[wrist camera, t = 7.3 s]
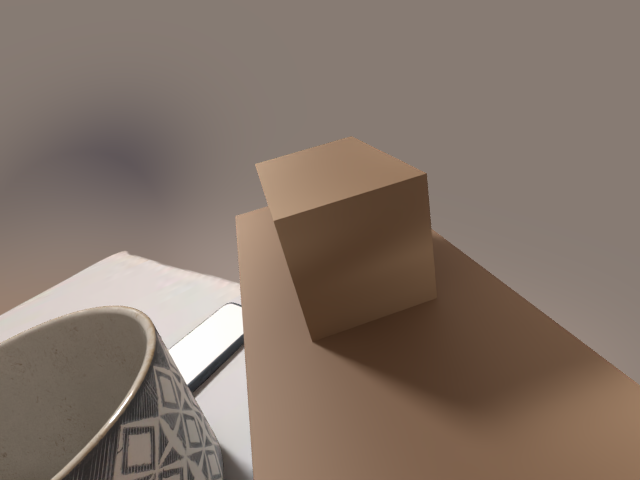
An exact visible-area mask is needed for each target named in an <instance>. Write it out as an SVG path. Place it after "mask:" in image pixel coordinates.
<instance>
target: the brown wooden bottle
mask: <svg viewBox="0 0 640 480" xmlns="http://www.w3.org/2000/svg"><path fill="white" fill-rule="evenodd" d="M255 165H256V169H257V172H258V175H259V178H260V181H261V184H262V188H263V191H264V194H265V197H266V200H267V203H268V206H267V207H264V208H260V209H257V210H254V211H251V212H248V213H244V214H241V215H237V216H235V218H236V232H237V247H238V260H239V276H240V290H241V305H242V319H243V334H244V348H245V362H246V377H247V391H248V406H249V420H250V435H251V449H252V464H253V478H254V480H640V385H639V384H637V383H636V382H635V381H633V380H632V379H631V378H629V377H628V376H627V375H625V374H624V373H623V372H621V371H620V370H619V369H617V368H616V367H615V366H613V365H612V364H611V363H609V362H608V361H607V360H605V359H604V358H603V357H601V356H600V355H599V354H597V353H596V352H595V351H593V350H592V349H591V348H589V347H588V346H587V345H585V344H584V343H583V342H581V341H580V340H579V339H578V338H576V337H575V336H574V335H572V334H571V333H570V332H568V331H567V330H565V329H564V328H563V327H561V326H560V325H559V324H558V323H556V322H555V321H554V320H552V319H551V318H549V317H548V316H547V315H546V314H544V313H543V312H542V311H540V310H539V309H538V308H536V307H535V306H534V305H532V304H531V303H530V302H528V301H527V300H526V299H524V298H523V297H522V296H520V295H519V294H518V293H516V292H515V291H514V290H512V289H511V288H510V287H508V286H507V285H506V284H504V283H503V282H501V281H500V280H499V279H498V278H496V277H495V276H494V275H492V274H491V273H490V272H488V271H487V270H486V269H484V268H483V267H482V266H480V265H479V264H478V263H476V262H475V261H474V260H472V259H471V258H470V257H468V256H467V255H466V254H464V253H463V252H462V251H460V250H459V249H458V248H456V247H455V246H453V245H452V244H451V243H450V242H448V241H447V240H446V239H444V238H443V237H442V236H440V235H439V234H438V233H436V232H435V231H434V230H432V229H431V219H430V207H429V196H428V183H427V174H426V173H425V172H423V171H421V170H418V169H417V168H415V167H413V166H410V165H408V164H407V163H405V162H403V161H400V160H398V159H396V158H394V157H392V156H390V155H388V154H386V153H384V152H382V151H380V150H378V149H376V148H374V147H372V146H370V145H368V144H366V143H364V142H362V141H360V140H358V139H356V138H354V137H352V136H351V137H347V138H344V139H340V140H337V141H333V142H330V143H327V144H323V145H319V146H316V147H313V148H309V149H306V150H303V151H299V152H295V153H292V154H288V155H285V156H281V157H278V158H275V159H271V160H268V161H264V162H261V163H257V164H255Z"/></svg>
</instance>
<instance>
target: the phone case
mask: <svg viewBox="0 0 640 480" xmlns="http://www.w3.org/2000/svg"><path fill="white" fill-rule="evenodd" d="M242 344H244V334H243V319H242V305H239V304H236V303H227V304H225V305H224V306H223V307H221V308H220V309H219V310H218V311H216V312H215V313H214V314H212V315H211V316H210V317H209V318H207V319H206V320H205V321H204V322H202V323H201V324H200V325H199V326H197V327H196V328H195V329H194V330H192V331H191V332H190V333H189V334H187V335H186V336H185V337H184V338H182V339H181V340H180V341H179V342H177V343H176V344H175V345H174V346H172V347H171V348H170V349H169V350H168V351H169V353H170V355H171V357H172V359H173V360H174V362H175V364H176V366H177V368H178V369H179V371H180V373H181V375H182V377H183V378H184V380H185V382H186V384H187V386H188V387H189V389H190V391H191V393H193V392H194V391H195V390H196V389H197V388H198V387H199V386H200V385H201V384H202V383H203V382H204V381H205V380H206V379H207V378H208V377H209V376H210V375H211V374H212V373H213V372H215V371H216V370H217V369H218V368H219V367H220V366H221V365H222V364H223V363H224V362H225V361H226V360H227V359H228V358H229V357H230V356H231V355H232V354H233V353H234V352H235V351H236V350H237V349H238V348H239V347H240V346H241V345H242Z"/></svg>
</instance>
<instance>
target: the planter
mask: <svg viewBox="0 0 640 480" xmlns="http://www.w3.org/2000/svg"><path fill="white" fill-rule="evenodd" d="M0 480H223V459H222V453H221V449H220V446H219V443H218V440H217V438H216V436H215V434H214V432H213V431H212V429H211V427H210V425H209V423H208V422H207V420H206V418H205V416H204V414H203V413H202V411H201V409H200V407H199V405H198V404H197V402H196V400H195V398H194V396H193V395H192V393H191V391H190V389H189V387H188V386H187V384H186V382H185V380H184V378H183V377H182V375H181V373H180V371H179V369H178V368H177V366H176V364H175V362H174V360H173V359H172V357H171V355H170V353H169V351H168V350H167V348H166V346H165V344H164V342H163V341H162V339H161V337H160V335H159V333H158V332H157V330H156V328H155V326H154V324H153V323H152V321H151V320H150V318H149V317H148V316H147V315H146V314H145V313H143V312H141V311H139V310H137V309H134V308H131V307H126V306H102V307H95V308H90V309H85V310H81V311H77V312H73V313H70V314H67V315H64V316H61V317H58V318H55V319H52V320H50V321H47V322H44V323H42V324H40V325H37V326H35V327H32V328H30V329H28V330H26V331H24V332H22V333H19V334H17V335H15V336H13V337H11V338H9V339H7V340H5V341H4V342H2V343H0Z"/></svg>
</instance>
